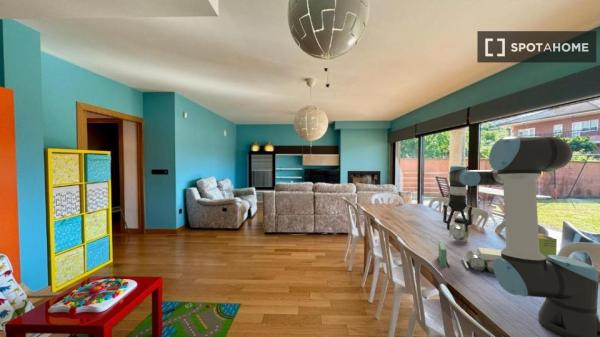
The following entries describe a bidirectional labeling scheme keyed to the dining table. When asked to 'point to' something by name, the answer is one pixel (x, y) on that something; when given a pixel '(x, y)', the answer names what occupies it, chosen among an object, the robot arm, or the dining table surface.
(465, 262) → the cradle
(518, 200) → the robot arm
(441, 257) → the bar
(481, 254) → the slab
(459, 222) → the coffee cup
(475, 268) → the roller bed
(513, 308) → the dining table surface
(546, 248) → the protein box
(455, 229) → the roller
